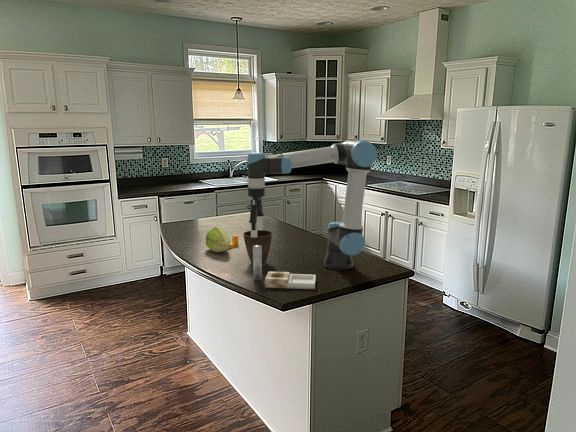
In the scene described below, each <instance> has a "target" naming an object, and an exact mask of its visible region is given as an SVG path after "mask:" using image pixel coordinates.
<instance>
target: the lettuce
mask: <svg viewBox="0 0 576 432" xmlns="http://www.w3.org/2000/svg"><path fill="white" fill-rule="evenodd" d="M230 242H231V239H230V237H229V234H227V232H225V230H223V229H222V228H221V227H213V228H211V229H210V230H209V231H208V232H207V233H206V236H205V245H206V247H207V248H208V249H209V250H211V251H212V252H213V253H217V254H218V253H223V252H226V251H227V250H229V249H228V247H229V244H230Z"/></svg>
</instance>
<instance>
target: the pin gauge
mask: <svg viewBox="0 0 576 432" xmlns="http://www.w3.org/2000/svg"><path fill="white" fill-rule="evenodd" d="M252 271H253V274H252V275H253V281H255V282H258V281H262V280H263V264H262V246H261V245H254V246H253V264H252Z"/></svg>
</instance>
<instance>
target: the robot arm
mask: <svg viewBox="0 0 576 432" xmlns="http://www.w3.org/2000/svg"><path fill="white" fill-rule="evenodd" d="M376 159H377V150H376V147H375V146H374V145H373V143H372V142H370V141H368V140H363V139H350V140H346V141H343V142H338V143H333V144H331V146H326V147H320V148H319V147H317V148H312V149H305V150H299V151H293V152H287V153H279V154H268V155H266V156H265V153H264V152H261V151H260V152H254V151H252V152H249V153H248V154H247V162H246V163H247V180H246V182H247V186H248V188H247V196H248V197H250V198H251V197H252V199H251V200H250V211H249V212H250V214H249V220H248V223H249V224H250V231H251V237H257V230H263V217H264V215H265V214H264V213H263V211H264V210H263V203H262V201H263V200H262V197H265V195H266V193H265V190H266V189H265V186H266V184H265V183H266V181H265V180H266V179H265V178H266V177H265V176H266V175H269V174H271V175H272V174H273V175H275V174H276V175H278V174H280V175H281V174H282V175H284V174H290V173H291V171H292V169H295V168H302V167H309V166H315V165H321V164H327V163H328V164H329V163H334V164H345V169H346V171H347V173H348V174H347V180H346V191H345V197H344V205H343V206H344V207H343V213H342V214H343V215H342V220H341V221H331V222H329V223H328V224H327V250H326V251H327V252H326V255H325V256H324V261H323V266H324V267H325V268H327V269H331V270H338V271H340V270H342V271H343V270H349V269H351V268H353V267H354V261H353V256H356V255H358V254H360V253H361V252H362V251H363V250H364V248H365V245H366V242H365V238H364V236H363V231H364V230H363V229H364V227H363V226H362V224H361V221H362V214H363V205H364V199H365V198H364V197H365V192H366V181H367V175H368V173H370V172H371V169H372V165H373V164H374V162H375V161H376Z"/></svg>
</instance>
